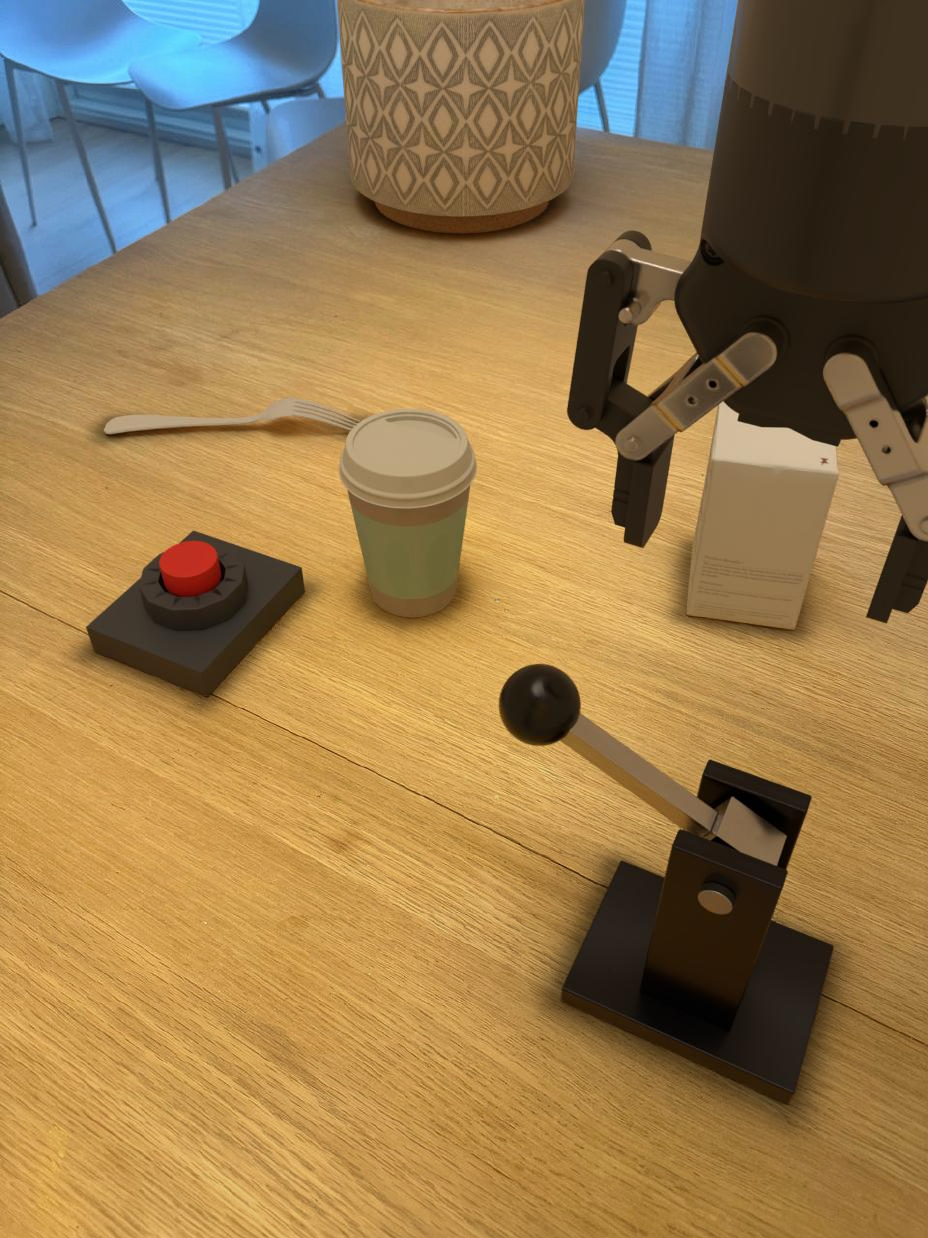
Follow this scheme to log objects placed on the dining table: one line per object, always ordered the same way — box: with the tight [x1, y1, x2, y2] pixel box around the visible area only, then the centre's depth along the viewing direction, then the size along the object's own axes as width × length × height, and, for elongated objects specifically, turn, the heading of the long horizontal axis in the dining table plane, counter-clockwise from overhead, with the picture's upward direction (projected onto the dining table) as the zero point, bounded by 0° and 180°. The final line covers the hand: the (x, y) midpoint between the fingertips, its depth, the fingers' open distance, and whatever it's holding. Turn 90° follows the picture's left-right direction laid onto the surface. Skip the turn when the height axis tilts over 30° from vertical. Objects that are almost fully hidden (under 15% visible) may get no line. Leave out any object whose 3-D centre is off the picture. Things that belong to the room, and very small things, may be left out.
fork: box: [103, 397, 361, 435], centre depth 87 cm, size 3×21×3 cm, turn 90°
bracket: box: [560, 759, 835, 1105], centre depth 47 cm, size 11×8×13 cm
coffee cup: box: [338, 408, 478, 618], centre depth 68 cm, size 9×9×12 cm
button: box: [159, 541, 221, 597], centre depth 67 cm, size 4×4×2 cm
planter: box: [336, 0, 586, 234], centre depth 115 cm, size 26×26×22 cm
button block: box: [85, 530, 306, 698], centre depth 68 cm, size 11×9×4 cm
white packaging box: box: [686, 402, 840, 630], centre depth 68 cm, size 7×7×13 cm
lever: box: [498, 663, 787, 866], centre depth 44 cm, size 13×3×3 cm, turn 63°
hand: (757, 569), depth 37 cm, fingers open, 8 cm apart
